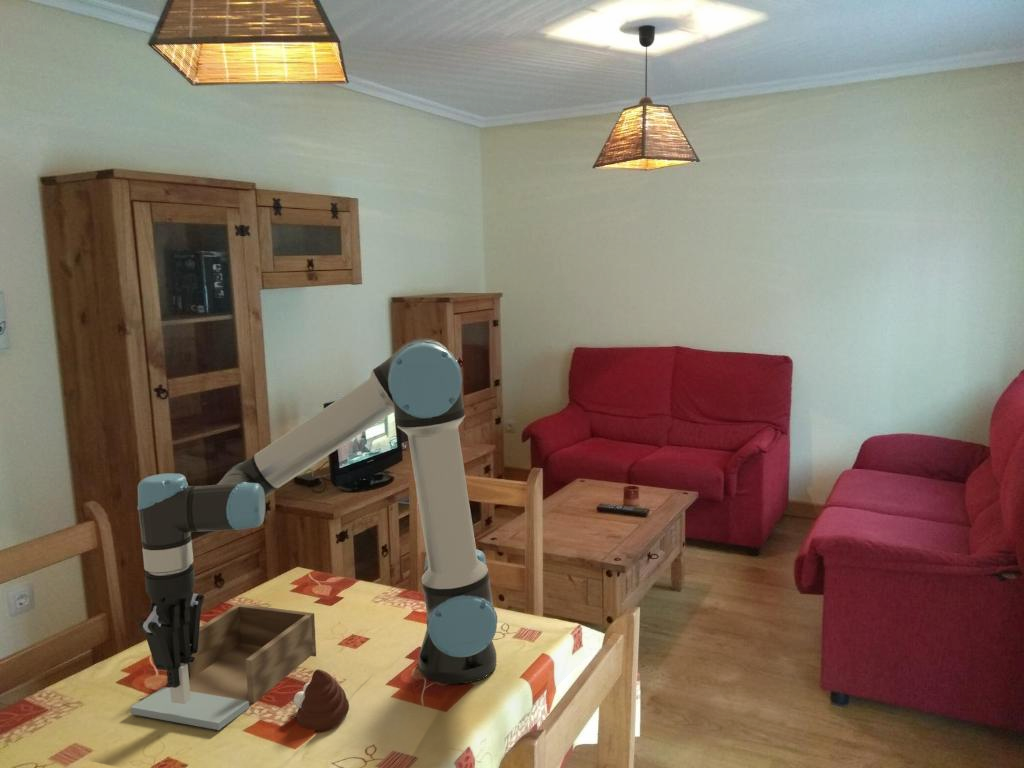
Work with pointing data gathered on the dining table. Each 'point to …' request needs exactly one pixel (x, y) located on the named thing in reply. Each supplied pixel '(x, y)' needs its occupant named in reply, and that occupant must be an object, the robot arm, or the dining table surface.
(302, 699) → the poop emoji
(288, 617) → the box
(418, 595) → the dining table surface
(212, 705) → the door
